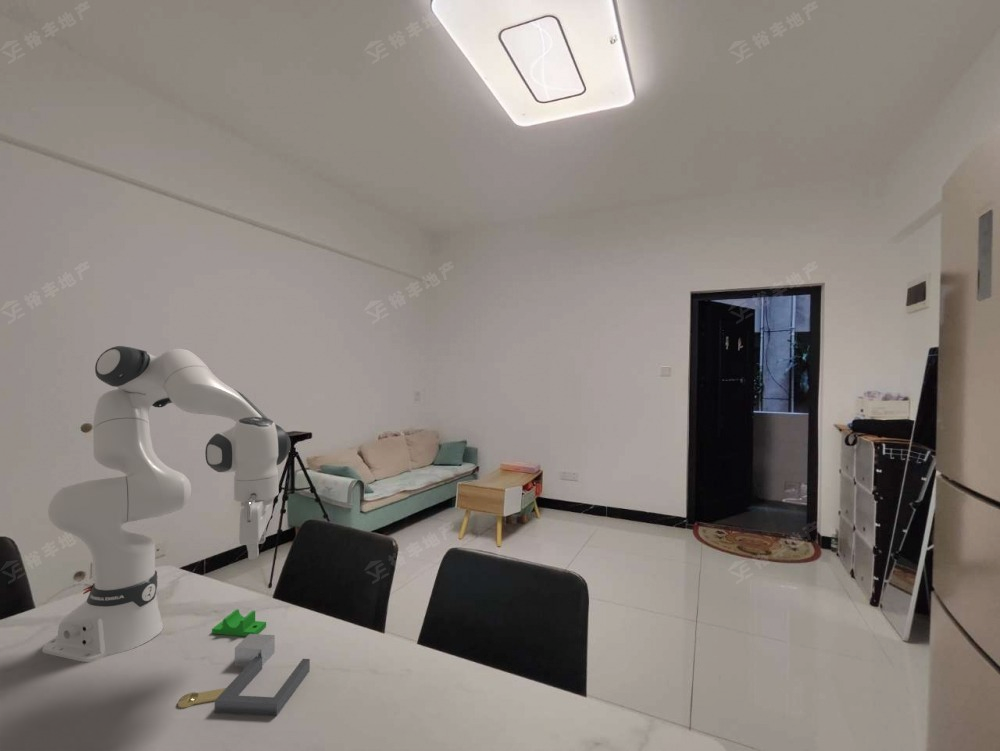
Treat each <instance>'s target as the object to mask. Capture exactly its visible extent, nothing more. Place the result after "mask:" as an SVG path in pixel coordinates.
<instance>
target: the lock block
mask: <svg viewBox="0 0 1000 751" xmlns="http://www.w3.org/2000/svg"><path fill="white" fill-rule="evenodd" d="M275 637H276V635H275V634H261V633H260V634H259V633H258V634H249V635H248V636H245V638H243V639H242V640H241V641H240V642H239V643H238V644H237V645H236V646H235V647H234V667H244V668H245V667H246V666H247V665H248V664H249V663H250V662H251V661H252V660H253V659H254V658H255V657H262V667H263V666H264V665H265V664H266V663H267V662H268V661H269V660H270V659H271V658H272V656H273V655H274V654H275V649H276V648H275V645H276V643H275V641H276V640H275Z"/></svg>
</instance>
